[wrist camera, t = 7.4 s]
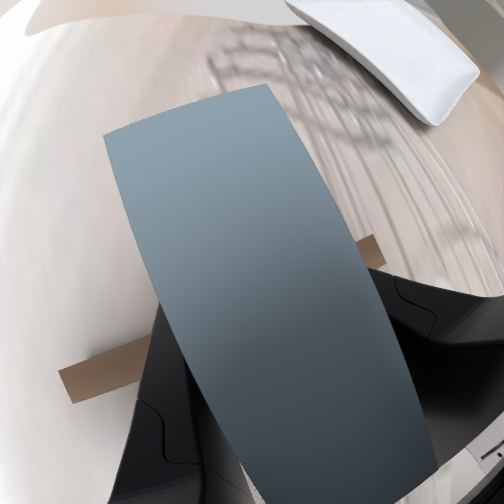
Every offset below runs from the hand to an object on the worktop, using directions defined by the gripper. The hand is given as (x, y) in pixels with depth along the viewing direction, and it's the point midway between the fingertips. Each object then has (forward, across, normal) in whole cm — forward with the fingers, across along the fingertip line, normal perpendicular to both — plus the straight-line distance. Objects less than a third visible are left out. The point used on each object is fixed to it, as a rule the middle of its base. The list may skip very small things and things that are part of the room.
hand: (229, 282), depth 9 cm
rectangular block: (+4, 0, +6) cm, 7 cm away
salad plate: (+23, -31, -4) cm, 39 cm away
